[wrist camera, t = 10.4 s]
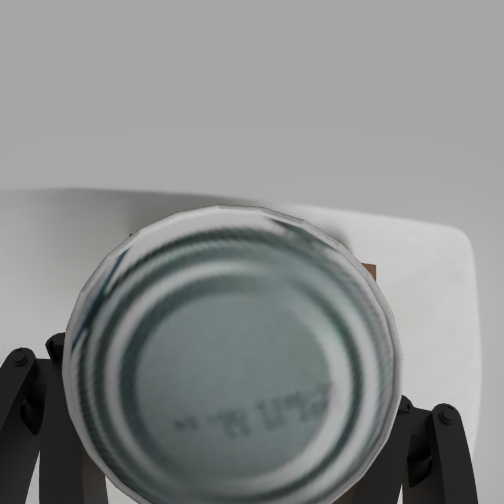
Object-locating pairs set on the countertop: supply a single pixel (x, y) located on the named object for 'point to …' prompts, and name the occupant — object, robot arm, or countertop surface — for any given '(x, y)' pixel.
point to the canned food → (232, 362)
